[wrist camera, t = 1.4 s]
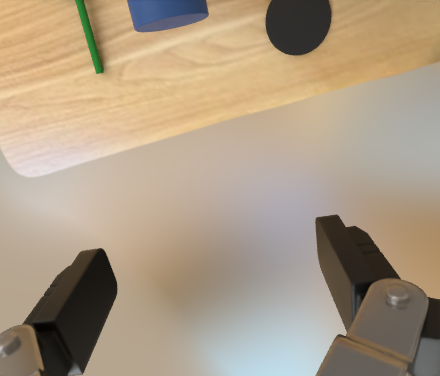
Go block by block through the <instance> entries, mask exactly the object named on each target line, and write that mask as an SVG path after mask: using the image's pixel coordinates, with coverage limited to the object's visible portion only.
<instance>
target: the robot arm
mask: <svg viewBox="0 0 440 376" xmlns="http://www.w3.org/2000/svg"><path fill="white" fill-rule="evenodd" d="M316 235H317V236H316V237H317V251H318V259H319V264H320V268H321V271H322V273H323V275H324V278H325V280H326V283H327V285H328V287H329V290H330V292H331V295H332V297H333V299H334V302H335V304H336V307H337V309H338V312H339V314H340V316H341V319H342V321H343V323H344V326H345V329H346V331H347V334H346V336H343V335H341V334H339V335H337V337H336V338H335V339H334V341H333V343H332V345H331V346H330V348H329V350H328V352H327V354H326V356H325V358H324V360H323V362H322V364H321V366H320V368H319V370H318V372H317V374H316V376H440V299H434V298H430V297H427V295H426V294H425V293H424V291H423V290H422V289H421V288H419V287H418V286H416V285H414V284H412V283H410V282H407V281H405V280H401V278H400V277H399V276H398V274H397V273H396V272H395V270H394V269H393V268H392V266H391V265H390V263H389V262H388V261H387V259H386V258H385V257H384V255H383V254H382V253H381V252H380V250H379V248H378V247H377V246H376V244H374V242H373V240H372V239H371V238H370V236H369V235H368V234H367V233H366V232H365V231H363V230H361V229H360V228H358V227H356V226H352V227H345V225H344V224H343V222H342V220H341V219H340V217H339V216H338V215H330V216H323V217H317V218H316ZM116 295H117V281H116V278H115V276H114V273H113V270H112V268H111V265H110V263H109V260H108V257H107V255H106V253H105V251H104V250H103V249H102V248H99V249H92V250H85V251H81V252H80V253H79V254H78V256H77V257H76V259H75V260H74V262H73V263H72V265H71V266H68V267H67V268H66V269H65V270H63V271H62V272H61V273H60V274H59V275H57V277H56V278H55V280H54V281H53V282H52V284H51V285H50V288H48V289H47V291H46V292H45V294H44V296H43V297H42V298H41V299H40V301H39V302H38V303H37V305H36V306H35V307H34V309H33V310H32V312H31V313H30V314H29V316H28V317H27V318H26V320H25V321H24V323H23V324H22V325H18V326H15V327H12V328H10V329H8V330H6V331H4V332H2V333H1V334H0V376H75V375H82V374H83V373H84V370H85V368H86V366H87V363H88V361H89V359H90V357H91V354H92V352H93V349H94V347H95V345H96V343H97V340H98V338H99V335H100V333H101V331H102V329H103V326H104V324H105V322H106V319H107V317H108V314H109V312H110V310H111V308H112V305H113V303H114V301H115V298H116Z"/></svg>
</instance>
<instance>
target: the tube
mask: <svg viewBox="0 0 440 376" xmlns="http://www.w3.org/2000/svg"><path fill="white" fill-rule="evenodd" d="M127 2H128V6H129V10H130V13H131V17H132V21H133V25H134V29H135V31H137V32H154V31H161V30H167V29H172V28H177V27H181V26H185V25H189V24H192V23H195V22H198V21H201V20H203V19H205V18H206V17H208V15H209V13H208V8H207V3H206V0H127Z"/></svg>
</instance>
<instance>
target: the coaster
mask: <svg viewBox="0 0 440 376" xmlns="http://www.w3.org/2000/svg"><path fill="white" fill-rule="evenodd" d="M330 23H331V10H330V6H329V2H328V0H272V1H271V3H270V5H269V8H268V10H267V14H266V30H267V34H268V37H269V39H270V41H271V42H272V44H273V45H274V46H275V47H276V48H277V49H278V50H280V51H281V52H283V53H285V54H289V55H303V54H306V53H309V52H311V51H312V50H314V49H315V48H317V47H318V46H319V45H320V44H321V43H322V41H323V40H324V39H325V37H326V35H327V33H328V30H329V27H330Z"/></svg>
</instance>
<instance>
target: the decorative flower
mask: <svg viewBox="0 0 440 376" xmlns="http://www.w3.org/2000/svg"><path fill="white" fill-rule="evenodd" d="M75 1H76V5H77V8H78V12H79V15H80V18H81V22H82V25H83V29H84V32H85V36H86V39H87V43H88V46H89V50H90V53H91V57H92V60H93V64H94V67H95V70H96V74H98V73H103V68H102V65H101V61H100V58H99V54H98V50H97V47H96V43H95V40H94V36H93V32H92V29H91V25H90V22H89V18H88V14H87V11H86V7H85V4H84V0H75Z"/></svg>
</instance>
